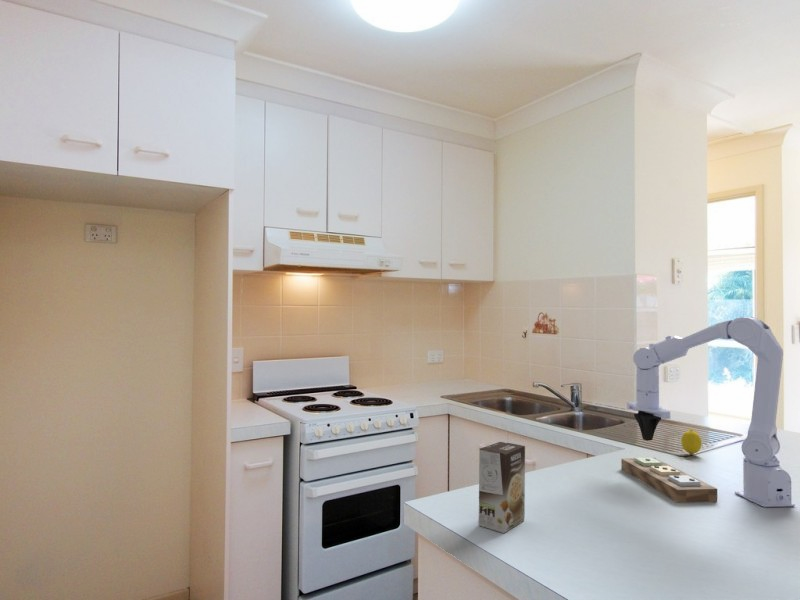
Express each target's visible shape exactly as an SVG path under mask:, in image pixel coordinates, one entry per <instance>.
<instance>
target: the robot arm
mask: <svg viewBox="0 0 800 600" xmlns="http://www.w3.org/2000/svg"><path fill="white" fill-rule="evenodd" d="M718 339H721V340H722V339H723V340H734V341H735V342H737V343H738V344H740V345H743V346H744V347H747V348H748V349H749V350H750V351H751V352H752V354H754V355H755V356H756V357H757V363H756V365H757V366H756V373H755V383H754V392H753V394H754V395H753V401H752V411H751V420H750V424H749V427H748V429H747V430H748V431H747V435H746V438H744V440H743V442H742V443H741V452H742V454H743V457H742V459H743V462H742V466H743V467H742V470H743V472H742V473H743V481H742V482H743V490H734V494H736V495H738V496H741V497H742V498H744V499H747V500H748V501H750V502H753V503H754V504H757V505H758V506H759V505H760V506H761V507H764V508H768V507H769V508H771V507H775V508H776V507H795V506H796V504H795V503H793V502H792V478H791V475H790V474H789V472H787V471H786V470H784V469H783V468H782V467H781V465H780V460H779V459H778V458H777V456H776V455H777V454H778V453H779V452H780V448H781V443H780V441H779V440H778V435H777V431H778V427H777V425H776V424H777V413H778V404H779V395H780V386H781V379H782V378H781V377H782V371H783V368H782V367H783V360H784V350H783V348H782V346H781V344H780V343H779V341H778V339H777V338H776V337H775V335H774V334H773V331H772V329H771V328H770V326H769V325H768V324H766V323H765V322H764V321H763V320H761V319H759V318H758V317H753V316H747V317H746V316H740V317H736V318H734V319H728V320H725V321H722V322H718V323H715V324H713V325H712V324H711V326H708V327H706V328H704V329H701V330H699V331H696V332H694V333H692V334H689V335H687V336H685V337H681V336H677V335H674V336H672V335H667V336H665V338H664V340H662V341H659V342H656V343H654V342H651V343H650V344H648V347H640V348H639V349H637V350H636V351H635V352H634V354H633V357H632V359H633V363H634V365H635V366H636V375H635V377H636V379H635V381H636V388H635V389H636V392H635V394H636V397H635V398H636V401H635V402H634V401H630V402H626V409H627V410H633V411H636V412H637V413H634V414H633V418H635V420H636V422H637V424H638V427H639V429H640V433H641V438H642V440H644V441H647V442H648V441H653V439H654V435H655V431H656V429H657V427H658V425H659V423H660V421H661V420H662V419H663V420H670V419H671V411H669V410H666V409H664V408H662V406H660V374H659V370H660V369H659V368H660V366H661V365H664V364H666V363H669V362H672V361H674V360H677V359H680V358H682V357H685V356H686V355H688V351H689V349H692V348H695V347H698V346H702V345H704V344H706V343H710V342H713V341H715V340H718Z"/></svg>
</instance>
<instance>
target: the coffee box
mask: <svg viewBox="0 0 800 600" xmlns="http://www.w3.org/2000/svg"><path fill="white" fill-rule="evenodd" d="M478 454H479V456H478V457H479V458H478V459H479V463H478V464H479V466H478V477H479V478H478V526H480V527H483V528H486V529H489V530H491V531H492V530H493V531H495V532H499V533H501V534H505V533H507V532H509V531H511V529H513V528H514V527H517V526H518V525H519V523H520V522H521V523H522V521H523V522H524V521H525V519H526V518H525V512H526V511H525V510H526V509H525V508H526V507H525V506H526V505H525V500H526V497H525V495H526V494H525V493H526V492H525V491H526V488H525V487H526V483H525V482H526V445H523V444H517V443H512V442H504V441H498V442H496V443H493V444H489V445H487V446H483V447H481V448H479V453H478ZM521 523H520V524H521Z"/></svg>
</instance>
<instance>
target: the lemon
mask: <svg viewBox="0 0 800 600" xmlns="http://www.w3.org/2000/svg"><path fill="white" fill-rule="evenodd" d="M681 446H682V449H683V450H684V451H685V452H687V453H688V454H689V455H690V454H692V455H691V456H693V455H695V454H697V453H698V452H699V451H701V448H702V438H701V436H700V434H699V433H698V432H696V431H694V429H689V430H687V431H684V432H683V434H682V436H681Z"/></svg>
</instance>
